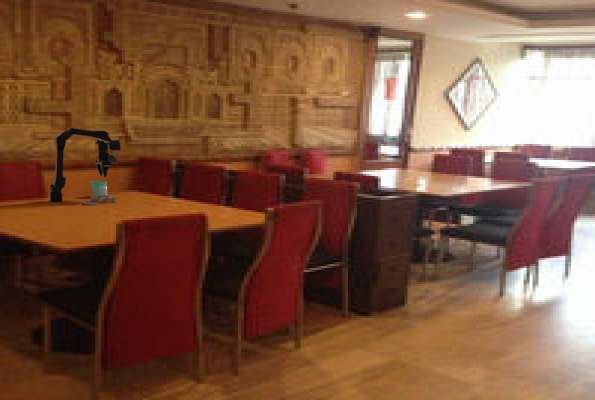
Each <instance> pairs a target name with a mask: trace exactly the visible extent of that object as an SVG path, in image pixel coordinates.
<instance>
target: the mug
mask: <svg viewBox="0 0 595 400" xmlns="http://www.w3.org/2000/svg"><path fill="white" fill-rule="evenodd" d="M107 184H108V182H107V180H90V187H91V190H92V193H93V196H100V187H107Z"/></svg>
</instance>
